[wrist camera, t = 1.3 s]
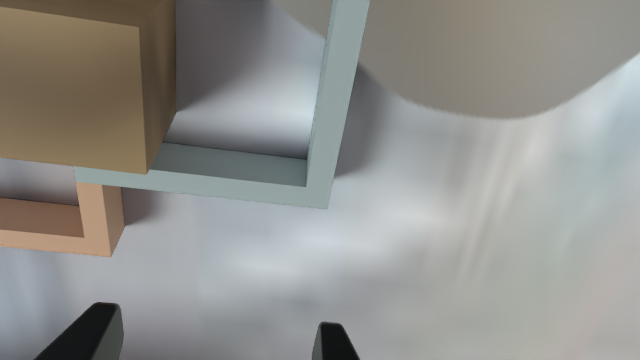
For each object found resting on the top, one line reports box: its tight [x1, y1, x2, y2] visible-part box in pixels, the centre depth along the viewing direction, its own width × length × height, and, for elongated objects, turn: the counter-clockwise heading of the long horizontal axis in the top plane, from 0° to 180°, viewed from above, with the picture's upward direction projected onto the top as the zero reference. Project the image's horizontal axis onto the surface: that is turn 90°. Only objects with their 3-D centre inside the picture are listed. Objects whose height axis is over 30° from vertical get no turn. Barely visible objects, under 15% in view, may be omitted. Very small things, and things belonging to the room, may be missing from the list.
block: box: [0, 0, 176, 175], centre depth 17 cm, size 5×6×4 cm
